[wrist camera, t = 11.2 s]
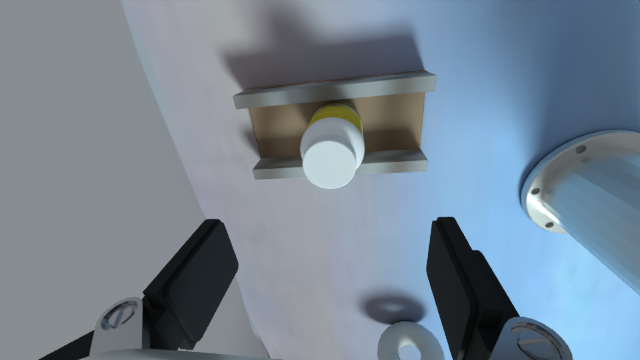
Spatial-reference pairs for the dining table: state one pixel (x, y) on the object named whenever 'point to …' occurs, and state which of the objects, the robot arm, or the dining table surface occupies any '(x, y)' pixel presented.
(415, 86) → the track
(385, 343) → the donut
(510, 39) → the dining table surface
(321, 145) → the supplement bottle
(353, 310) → the dining table surface
